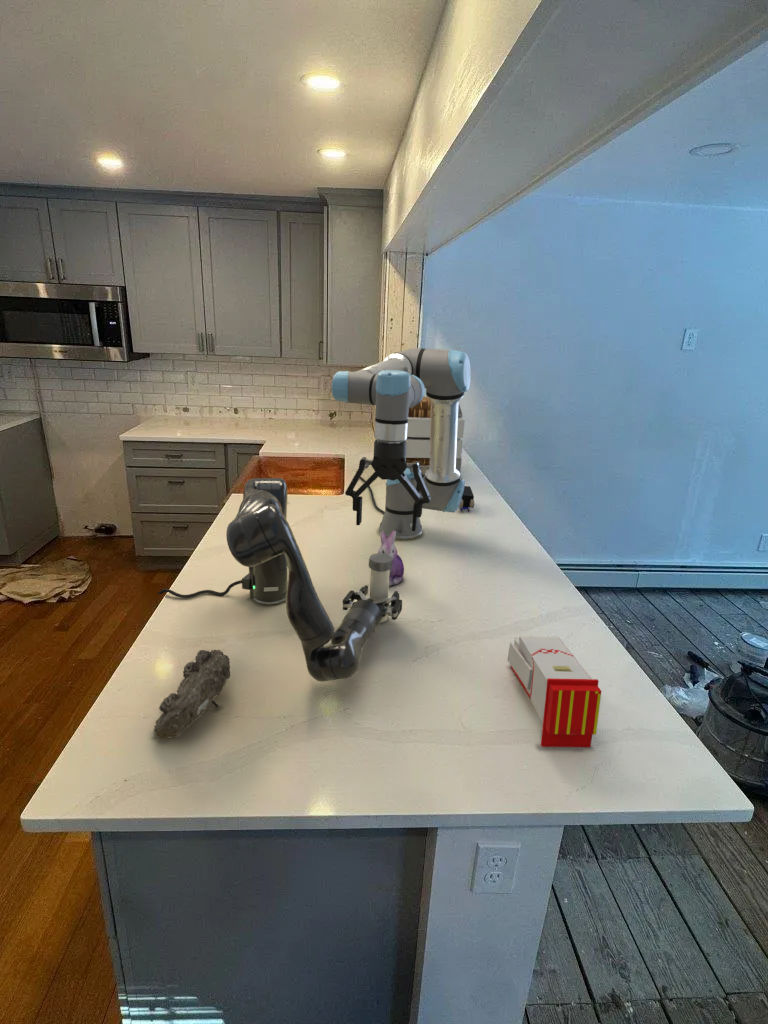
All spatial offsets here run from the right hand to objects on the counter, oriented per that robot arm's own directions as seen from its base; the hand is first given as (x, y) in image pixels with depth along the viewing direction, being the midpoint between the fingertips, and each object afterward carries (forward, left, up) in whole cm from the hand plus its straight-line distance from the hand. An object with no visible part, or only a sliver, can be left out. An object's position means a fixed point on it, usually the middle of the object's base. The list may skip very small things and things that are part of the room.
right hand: (386, 526), depth 137 cm
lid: (0, -1, -9) cm, 9 cm away
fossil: (+4, -51, -25) cm, 57 cm away
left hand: (-1, +1, -18) cm, 18 cm away
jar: (0, -1, -25) cm, 25 cm away
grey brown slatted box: (-93, +103, -25) cm, 141 cm away
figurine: (-15, +15, -25) cm, 33 cm away
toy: (+45, +5, -25) cm, 52 cm away
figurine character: (-46, +82, -25) cm, 97 cm away
